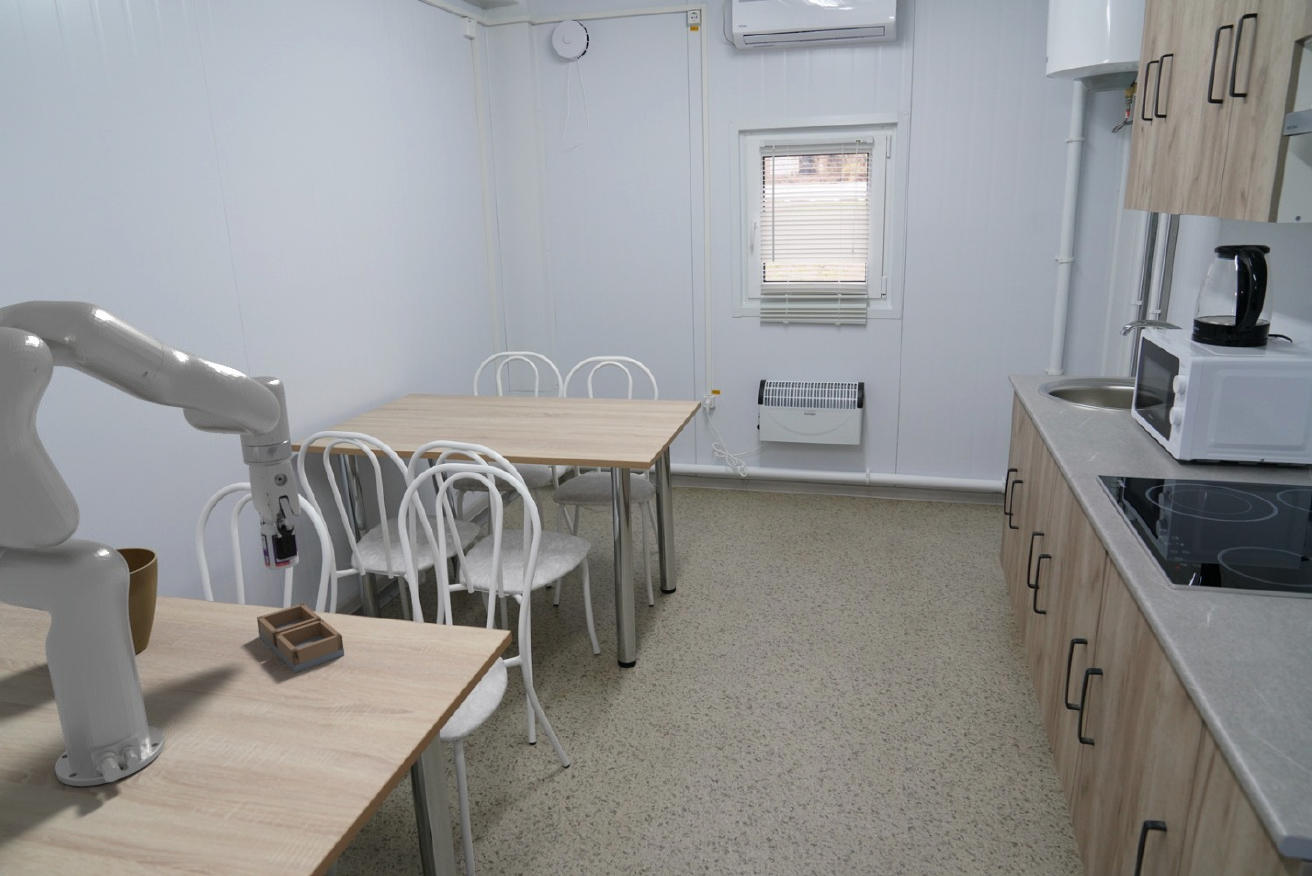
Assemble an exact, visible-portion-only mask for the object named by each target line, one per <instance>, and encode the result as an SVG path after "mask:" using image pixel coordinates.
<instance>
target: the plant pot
mask: <svg viewBox="0 0 1312 876" xmlns="http://www.w3.org/2000/svg"><path fill="white" fill-rule="evenodd" d="M114 549H115V548H114ZM115 550H117V551H118V552H119V553H120V554H121V555H122V556H123V557H124V559H125V560H126V562H127V565H128V568H129V574H130V584H129V597H128V609H129V621H130V628H131V634H132V640H133V645H134V651H135V655H136V654H139V653H141V652H142V651H144V650H145V649H146V648H147V647H148V646H149V641H150V638H151V635H152V634H151V633H152V629H153V624H154V619H155V613H156V606H157V595H158V582H159V581H158V579H159V577H158V576H159V574H158V569H159V567H158V566H159V565H158V553H157V552H156V551H155V550H153V549H152V548H151V549H150V548H146V547H145V548H144V547H123V548H116V549H115Z"/></svg>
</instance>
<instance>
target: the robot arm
mask: <svg viewBox="0 0 1312 876" xmlns="http://www.w3.org/2000/svg"><path fill="white" fill-rule="evenodd" d="M54 367H66V368H69V369H70V368H71V369H72V370H76V371H79V372H81V373H82V374H85V375H87V376H90V377H92V378H94V379H96V380H98V381H99V382H102V383H104V384H106V385H108V386H111V387H113V388H115V389H117V390H119V391H121V392H123V393H125V394H128V395H129V396H131V397H133V398H136V399H138V400H140V401H141V400H142V401H144V402H149V403H153V404H156V405H161V406H166V407H175V408H180V409H182V411H183V416H184V419H185V420H186V422H187V423H188V424H189V425H190V426H191V427H193V428H194V429H196V430H198V431H202V432H205V433H211V434H223V435H226V434H227V435H228V434H229V435H239V437H240V443H241V445H240V446H241V452H242V453H241V454H242V461H243V463H244V464H245V465H248V471H249V483H250V493H251V499H252V503H253V507H254V509H255V510H256V512H257V513H258V514H259V524H260V526H261V527H262V525H263V524H265V522H264V519H263V516H264V517H266V518H267V519H269V520H271V521H273V524H274V529H275V533H276V537H274V540H275V547H276V555H277V559H279V560H282V559H286V558H289V557H293V556H296V555H297V549H298V547H297V548H296V542H297V539H296V540H295V534H296V529H295V530H294V527H295V525H296V519H295V517H300V515H301V513H302V511H301V509H302V508H301V503H300V497H299V492H298V485H297V482H296V481H297V480H296V476H295V475H296V474H295V473H294V469H293V465H292V461H291V460H292V459H293V449H292V441H291V440H292V439H291V434H290V433H291V432H290V425H289V417H288V416H289V415H288V409H287V408H288V407H287V400H286V392H285V385H284V383H283V382H282V380H281V379H279V378H277V377H275V376H254V377H250V376H248V375H246V374H245V373H242V372H240V371H238V370H236V369H234V368H231V367H228V366H226V365H222V364H220V363H217V362H215V361H212V360H208V359H207V358H204V357H201V356H199V355H196V354H193V353H192V352H191V353H190V352H187V351H186V350H185V351H184V350H182V349H178V348H175V347H174V346H171V345H169V344H167V343H166V342H164V341H161V340H160V339H159V338H156V337H155V336H153V335H152V334H149V333H148V332H146V331H144V330H143V329H141V328H139V327H137V326H136V325H134V324H132V323H130V322H129V321H126V320H125V319H124V318H121V317H120V316H118V315H117V314H114V313H112V312H110V311H109V310H107V309H105V308H103V307H101V306H99V305H96V304H93V303H89V302H84V301H76V300H74V301H73V300H72V301H71V300H69V301H68V300H67V301H66V300H65V301H64V300H31V301H30V300H28V301H24V302H19V303H15V304H9V305H5V306H3V307H2V306H1V307H0V603H3V604H6V605H9V606H14V607H18V608H23V609H30V610H31V609H32V610H37V611H39V612H40V611H41V612H46V613H49V615H50V618H51V620H50V625H49V628H48V631H47V635H46V638H45V643H44V644H45V648H44V649H45V650H44V652H45V659H46V663H47V668H48V671H49V675H50V681H51V685H52V690H53V694H54V699H55V703H56V709H57V714H58V719H59V723H60V727H61V733H62V736H63V737H62V738H63V741H64V746H65V747H64V748H65V751H64V752H62V754H60V756H59V757H58V759H57V761H56V762H55V767H54V772H55V774H56V778H57V779H58V781H60V782H61V783H63V784H64V785H68V786H74V787H89V786H90V787H91V786H99V785H102V784H107V783H113V782H116V781H118V780H120V779H123V778H125V777H128V776H130V775H132V774H135V773H136V772H138V771H140V770H141V769H143V768H144V767H146V766H147V765H149V764H150V763H152V762H153V761H154V760H155V759H156V758H157V757H158V756H159V755H160V754H161V752H162V750H163V749H164V746H165V739H164V738H165V737H164V733H163V732H162V730H160V729H159V728H158V727H156V726H154V725H149V723H148V718H147V713H146V712H147V711H146V706H145V702H144V695H143V689H142V684H141V679H140V674H139V669H138V663H137V657H136V654H135V651H134V645H133V640H132V634H131V628H130V621H129V609H128V597H129V584H130V574H129V568H128V565H127V562H126V560H125V559H124V557H123V556H122V555H121V554H120V553H119V552H118V551H117V550H115V548H114V547H112V546H109V545H107V544H105V543H102V542H99V541H95V540H89V539H83V538H73V536H74V535H75V533H76V531H77V530H78V527H79V525H80V522H81V521H80V520H81V514H80V508H79V505H78V503H77V501H76V498H75V496H74V494H73V493H72V491H71V489H70V487H69V486H68V485H67V483H66V481H65V479H64V478H63V476H62V475H61V473H60V471H59V470H58V468H57V467H56V464H55V463H54V462H53V460H52V458H51V457H50V455H49V454H48V452H47V450H46V448H45V446H44V444H43V442H42V440H41V438H40V436H39V434H38V430H37V415H38V411H39V410H38V409H39V406H40V404H41V401H42V399H43V397H44V395H45V392H46V390H47V389H48V387H49V385H50V382H51V380H52V377H53V373H54ZM278 515H283V518H280V519H278V518H277V516H278ZM283 521H284V524H283V525H281V528H280V526H279V522H283ZM261 527H260V528H261Z"/></svg>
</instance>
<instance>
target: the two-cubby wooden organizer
mask: <svg viewBox="0 0 1312 876" xmlns="http://www.w3.org/2000/svg"><path fill="white" fill-rule="evenodd" d="M256 620H257V627H258V628H257V629H258V636H259V638H260V639H261V640H262V641H263V642H264V643H265V644H266V645H267V646H268V647H269V648H270V649H271V650H272V651H273V652H274V653H275V654H276V655H277V656H278V657H279V658H280V659H281V660H282V661H283V662H284V663H285V664H286V665H288V667H289V668H290V669H291V670H292V671H293V672H294V673H298V672H301V671H303V670H306V669H310V668H312V667H314V666H318V665H320V664H324V663H325V662H330V661H332V660H334V659H337V658H340V657H343V656H345V650H344V643H343V635H342V634H341V633H340V632H339V631H337V630H336V629H335V628H334V627H333V626H331V625H330V624H329V623H328V622H326V621H325V620H324V619H322V618H321V616H319V615H318V614H317V613H316V612H314V611H313V610H312V609H311V608H309V607H308V606H307V605H306V604H305V603H300V604H297V605H293V606H291V607H288V608H287V607H286V608H284V609H280V610H277V611H274V612H271V613H267V614H264V615H261V616H257V617H256Z"/></svg>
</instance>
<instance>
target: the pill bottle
mask: <svg viewBox="0 0 1312 876" xmlns="http://www.w3.org/2000/svg"><path fill="white" fill-rule="evenodd" d="M277 518H278V519H280V518H283V515H278V516H277ZM263 519H264V522H265V524H263V525H262V527H260V530H259V531H260V538H261V546H262V552H263V557H264V558H263V559H264V565H265V568H266V569H268V570H269V571H271V570H272V571H281V570H287V569H290V568H293V567H295V566H296V565H298V563H299V561H300V559H299V558H300V557H299V550H298V544H297V535H296V533H295V540H296V548H297V555H296V556H293V557H289V558H286V559H282V560H279V559H277V555H276V547H275V540H274V537H276V533H275V529H274V524H273V521H271V520H269V519H267V518H266V517H264V516H263ZM283 524H284V521H283V522H279V526H280V528H281V525H283ZM294 530H295V531H296V528H295V527H294Z"/></svg>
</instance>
